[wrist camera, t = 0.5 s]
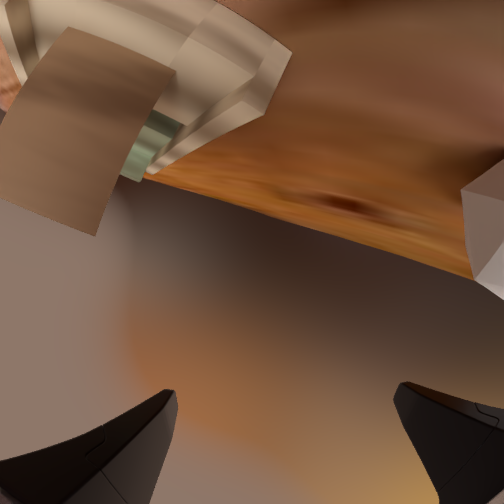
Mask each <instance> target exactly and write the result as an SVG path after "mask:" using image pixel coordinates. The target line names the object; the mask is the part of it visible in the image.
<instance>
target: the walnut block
mask: <svg viewBox="0 0 504 504" xmlns="http://www.w3.org/2000/svg"><path fill="white" fill-rule="evenodd" d="M175 72H176V71H175V70H173V69H171V68H169V67H167V66H165V65H163V64H161V63H159V62H157V61H155V60H153V59H151V58H149V57H146V56H144V55H142V54H140V53H138V52H135V51H133V50H131V49H128V48H126V47H124V46H121V45H119V44H116V43H114V42H111V41H109V40H106V39H103V38H101V37H98V36H95V35H92V34H90V33H87V32H84V31H81V30H78V29H75V28H71V27H67V28H66V29H65V30H64V32H63V33H62V34H61V35H60V36H59V37H58V38H57V40H56V41H55V42H54V43H53V45H52V46H51V47H50V48H49V50H48V51H47V52H46V53H45V55H44V56H43V57H42V59H41V60H40V61H39V63H38V64H37V66H36V67H35V68H34V70H33V71H32V73H31V74H30V76H29V77H28V79H27V80H26V82H25V83H24V85H23V86H22V88H21V90H20V91H19V93H18V94H17V96H16V98H15V99H14V101H13V103H12V105H11V106H10V108H9V110H8V112H7V114H6V116H5V118H4V119H3V121H2V123H1V125H0V198H2V199H4V200H6V201H8V202H11V203H13V204H16V205H18V206H20V207H23V208H25V209H27V210H30V211H32V212H34V213H37V214H39V215H42V216H44V217H47V218H49V219H51V220H54V221H56V222H59V223H61V224H64V225H67V226H69V227H72V228H74V229H77V230H79V231H82V232H84V233H87V234H90V235H92V236H95V235H96V232H97V229H98V227H99V224H100V221H101V218H102V216H103V213H104V210H105V208H106V205H107V203H108V200H109V198H110V195H111V193H112V190H113V188H114V185H115V183H116V181H117V178H118V176H119V174H120V172H121V170H122V167H123V165H124V163H125V161H126V159H127V157H128V155H129V153H130V150H131V148H132V146H133V144H134V142H135V140H136V139H137V137H138V135H139V133H140V131H141V129H142V127H143V125H144V123H145V122H146V120H147V118H148V116H149V114H150V113H151V111H152V109H153V107H154V106H155V104H156V102H157V101H158V99H159V97H160V96H161V94H162V92H163V91H164V89H165V88H166V86H167V84H168V83H169V81H170V80H171V78H172V77H173V75H174V74H175Z"/></svg>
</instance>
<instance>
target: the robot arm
mask: <svg viewBox="0 0 504 504" xmlns="http://www.w3.org/2000/svg"><path fill="white" fill-rule="evenodd" d="M393 401H394V404H395V407H396V409H397V412H398V414H399V417H400V419H401V422H402V425H403V427H404V429H405V431H406V432H407V434H408V436H409V438H410V440H411V442H412V444H413V446H414V448H415V450H416V451H417V453H418V455H419V457H420V459H421V461H422V463H423V465H424V467H425V469H426V471H427V473H428V475H429V477H430V479H431V481H432V483H433V485H434V487H435V489H436V492H437V493H438V496H439V504H504V409H501V408H496V407H491V406H487V405H483V404H479V403H476V402H475V403H473V402H471V401H468V400H464V399H461V398H457V397H454V396H451V395H448V394H445V393H442V392H439V391H435V390H432V389H429V388H426V387H423V386H420V385H418V384H414V383H411V382H408V381H407V382H402V383H400V384H399V386H398V388H397V390H396V393H395V395H394V398H393ZM177 411H178V403H177V398H176V392H175V391H174V390H170V389H164V390H162V391H160V392H159V393H157V394H156V395H154V396H153V397H151V398H149V399H147V400H145V401H144V402H142V403H141V404H139V405H137V406H135V407H134V408H132V409H130V410H128V411H127V412H125V413H123V414H121V415H119V416H118V417H116V418H114V419H112V420H110V421H109V422H107V423H105V424H103V426H102V425H101V426H99V427H97V428H95V429H93V430H91V431H89V432H87V433H85V434H82V435H80V436H77V437H75V438H72V439H70V440H67V441H64V442H61V443H58V444H56V445H53V446H50V447H47V448H44V449H41V450H38V451H34V452H31V453H27V454H24V455H20V456H17V457H13V458H9V459H6V460H1V461H0V504H149V503H150V500H151V497H152V494H153V491H154V488H155V485H156V483H157V480H158V477H159V474H160V471H161V468H162V466H163V463H164V460H165V457H166V454H167V452H168V449H169V446H170V443H171V440H172V436H173V431H174V426H175V421H176V416H177Z"/></svg>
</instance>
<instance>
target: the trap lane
mask: <svg viewBox="0 0 504 504" xmlns="http://www.w3.org/2000/svg"><path fill="white" fill-rule="evenodd" d="M67 27H71V28H75V29H78V30H81V31H84V32H87V33H90V34H92V35H95V36H98V37H101V38H103V39H106V40H109V41H111V42H114V43H116V44H119V45H121V46H124V47H126V48H128V49H131V50H133V51H135V52H138V53H140V54H142V55H144V56H146V57H149V58H151V59H153V60H155V61H157V62H159V63H161V64H163V65H165V66H167V67H169V68H171V69H173V70H175V71H176V72H175V74H174V75H173V77H172V78H171V80H170V81H169V83H168V84H167V86H166V88H165V89H164V91H163V92H162V94H161V96H160V97H159V99H158V101H157V102H156V104H155V106H154V107H153V109H152V111H151V113H150V114H149V116H148V118H147V120H146V122H145V123H144V125H143V127H142V129H141V131H140V133H139V135H138V137H137V139H136V140H135V142H134V144H133V146H132V148H131V150H130V153H129V155H128V157H127V159H126V161H125V163H124V165H123V167H122V170H121V172H120V174H121V175H123V176H125V177H128V178H130V179H133V180H135V181H137V182H140V181H141V179H142V177H143V175H144V173H145V172H148V173H150V174H152V175H153V174H155V173H156V172H158V171H159V170H161V169H163V168H164V167H166V166H168V165H169V164H171V163H173V162H174V161H176V160H178V159H179V158H181V157H183V156H184V155H186V154H188V153H190V152H192V151H193V150H195V149H197V148H199V147H200V146H202V145H204V144H206V143H208V142H210V141H212V140H213V139H215V138H217V137H219V136H221V135H223V134H225V133H227V132H229V131H231V130H233V129H235V128H237V127H239V126H241V125H243V124H245V123H247V122H249V121H252V120H254V119H256V118H258V117H260V116H262V115H264V114H265V111H266V109H267V107H268V105H269V102H270V100H271V98H272V96H273V93H274V91H275V89H276V87H277V85H278V83H279V80H280V78H281V76H282V74H283V72H284V70H285V67H286V65H287V63H288V61H289V59H290V57H291V55H292V52H291V51H290V50H288V49H287V48H286V47H284V46H283V45H282V44H281V43H279V42H278V41H277V40H275V39H274V38H272V37H271V36H270V35H268V34H267V33H265V32H264V31H263V30H261V29H260V28H258V27H257V26H255V25H254V24H252V23H251V22H249V21H248V20H246V19H244V18H243V17H241V16H240V15H238V14H236V13H235V12H233V11H232V10H230V9H228V8H226V7H225V6H223V5H221V4H219V3H218V2H216V1H214V0H0V36H1V38H2V41H3V44H4V46H5V49H6V51H7V54H8V56H9V58H10V61H11V63H12V65H13V68H14V70H15V72H16V74H17V77H18V79H19V81H20V83H21V85H22V86H23V85H24V83H25V82H26V80H27V79H28V77H29V76H30V74H31V73H32V71H33V70H34V68H35V67H36V66H37V64H38V63H39V61H40V60H41V59H42V57H43V56H44V55H45V53H46V52H47V51H48V50H49V48H50V47H51V46H52V45H53V43H54V42H55V41H56V40H57V38H58V37H59V36H60V35H61V34H62V33H63V32H64V30H65V29H66V28H67Z"/></svg>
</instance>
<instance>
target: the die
mask: <svg viewBox="0 0 504 504" xmlns="http://www.w3.org/2000/svg"><path fill="white" fill-rule="evenodd" d="M461 197H462V205H463V215H464V226H465V244H466V250H467V253H468V257H469V261H470V265H471V268H472V273H473V277H474V280H475V281H477V282H478V283H480V284H482V285H483V286H484V287H486V288H487V289H489V290H490V291H492V292H493V293H495V294H496V295H498V296H499V297H500V298H502V299H503V300H504V159H503V160H501V161H500V162H499V163H497V164H496V165H495V166H493V167H492V168H491V169H489V170H488V171H486V172H485V173H484V174H482V175H481V176H479V177H478V178H476V179H475V180H474V181H472V182H471V183H469V184H468V185H466V186H465V187H463V188H462V189H461Z"/></svg>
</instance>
